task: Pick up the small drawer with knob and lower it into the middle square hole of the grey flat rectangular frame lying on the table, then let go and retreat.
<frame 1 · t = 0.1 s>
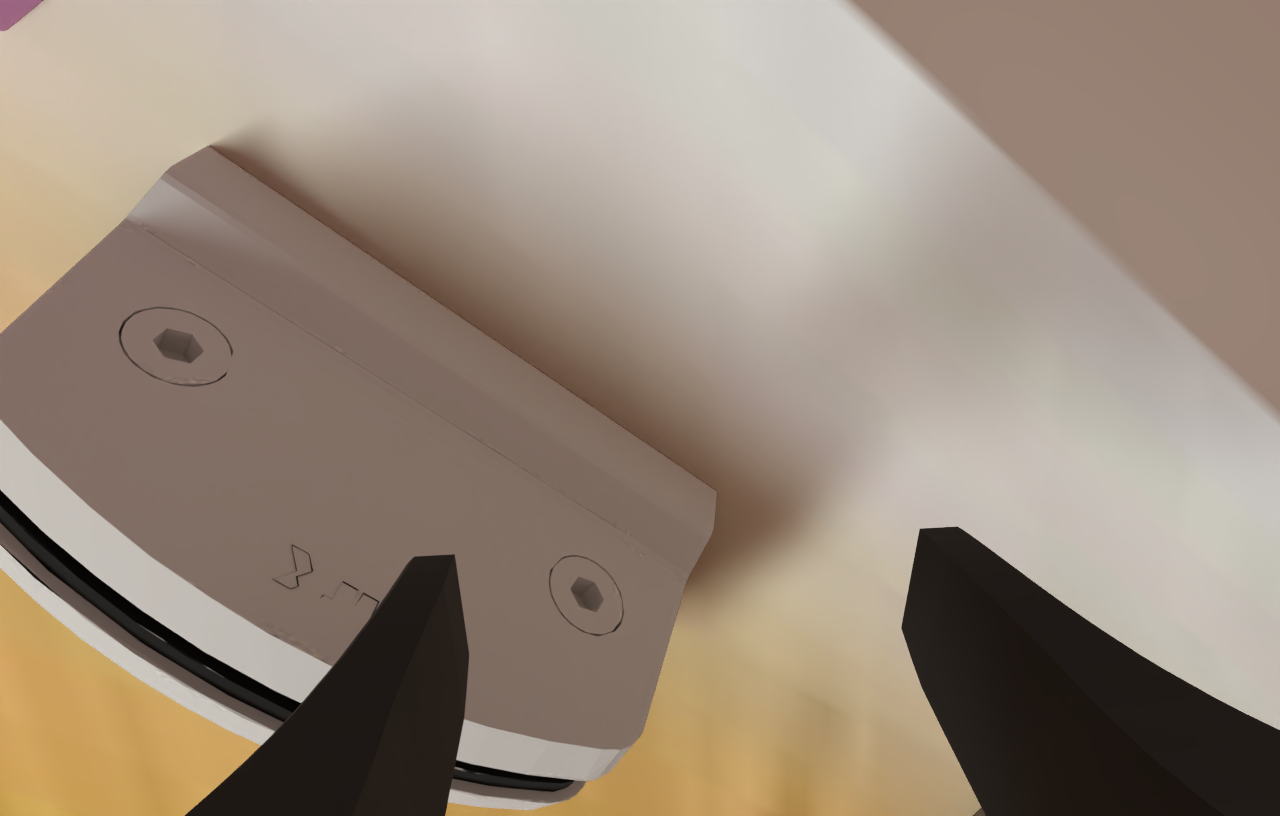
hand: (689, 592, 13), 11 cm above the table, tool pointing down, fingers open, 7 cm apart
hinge: (409, 440, 23), on the table
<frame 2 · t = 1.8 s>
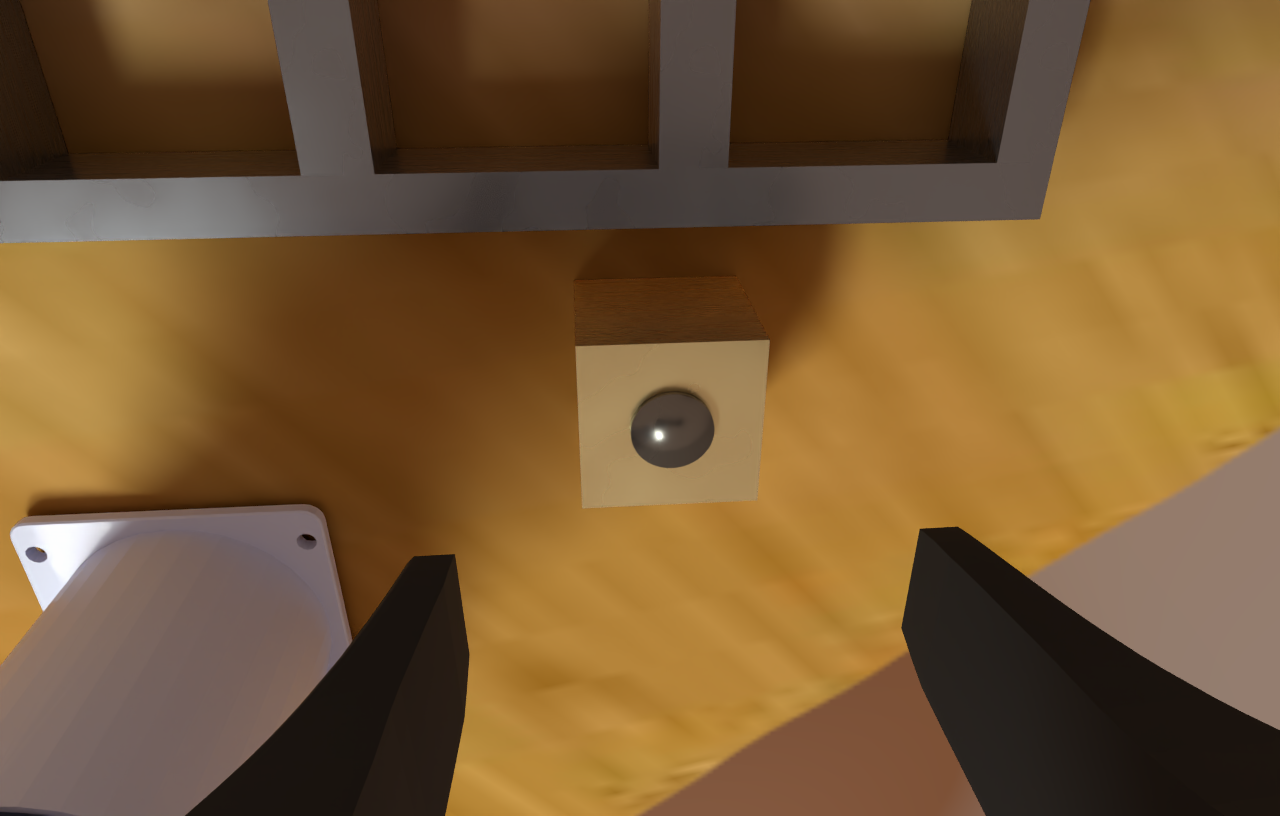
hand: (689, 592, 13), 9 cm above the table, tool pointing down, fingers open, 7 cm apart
drawer with knob: (654, 350, 22), on the table
grey flat rectangular frame: (514, 8, 17), on the table
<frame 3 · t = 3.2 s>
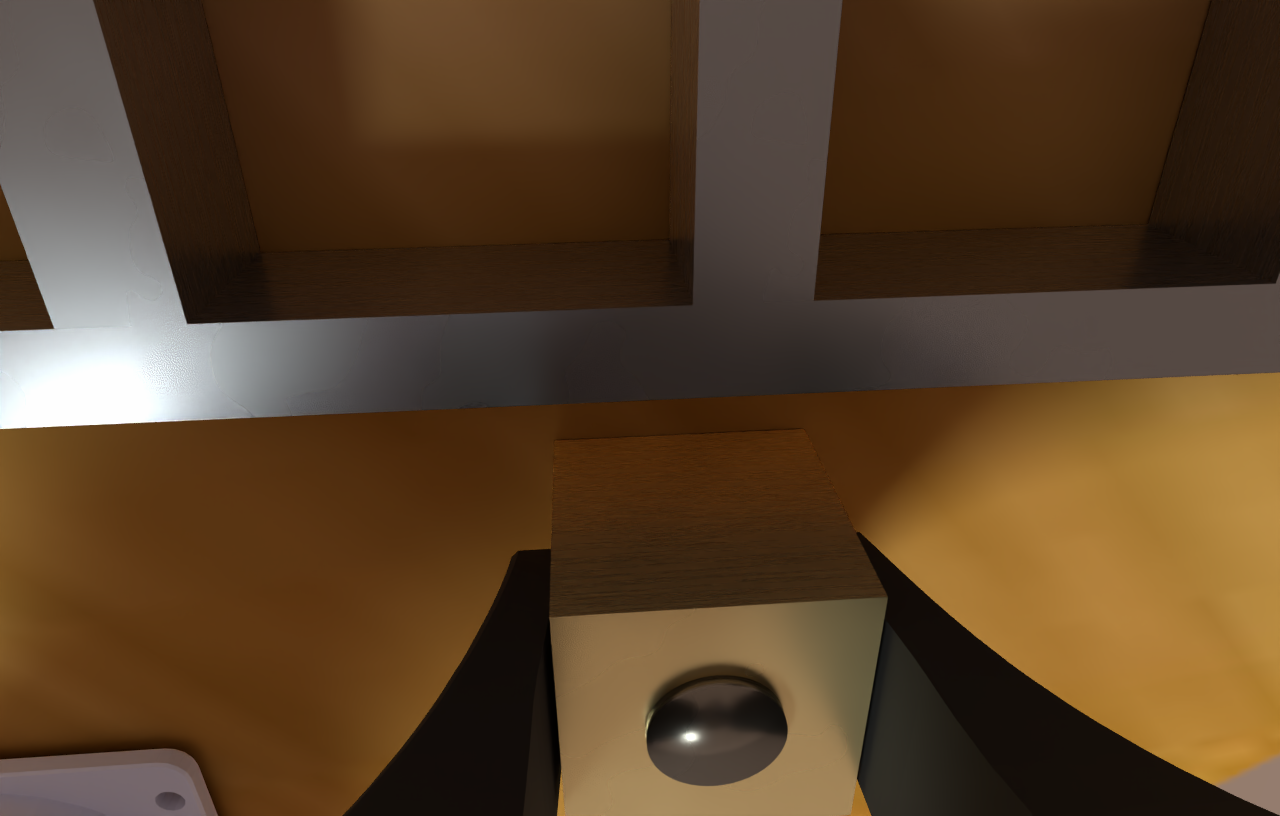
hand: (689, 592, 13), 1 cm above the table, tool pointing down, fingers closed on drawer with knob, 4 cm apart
drawer with knob: (678, 535, 14), on the table, touching gripper
grey flat rectangular frame: (443, 23, 10), on the table
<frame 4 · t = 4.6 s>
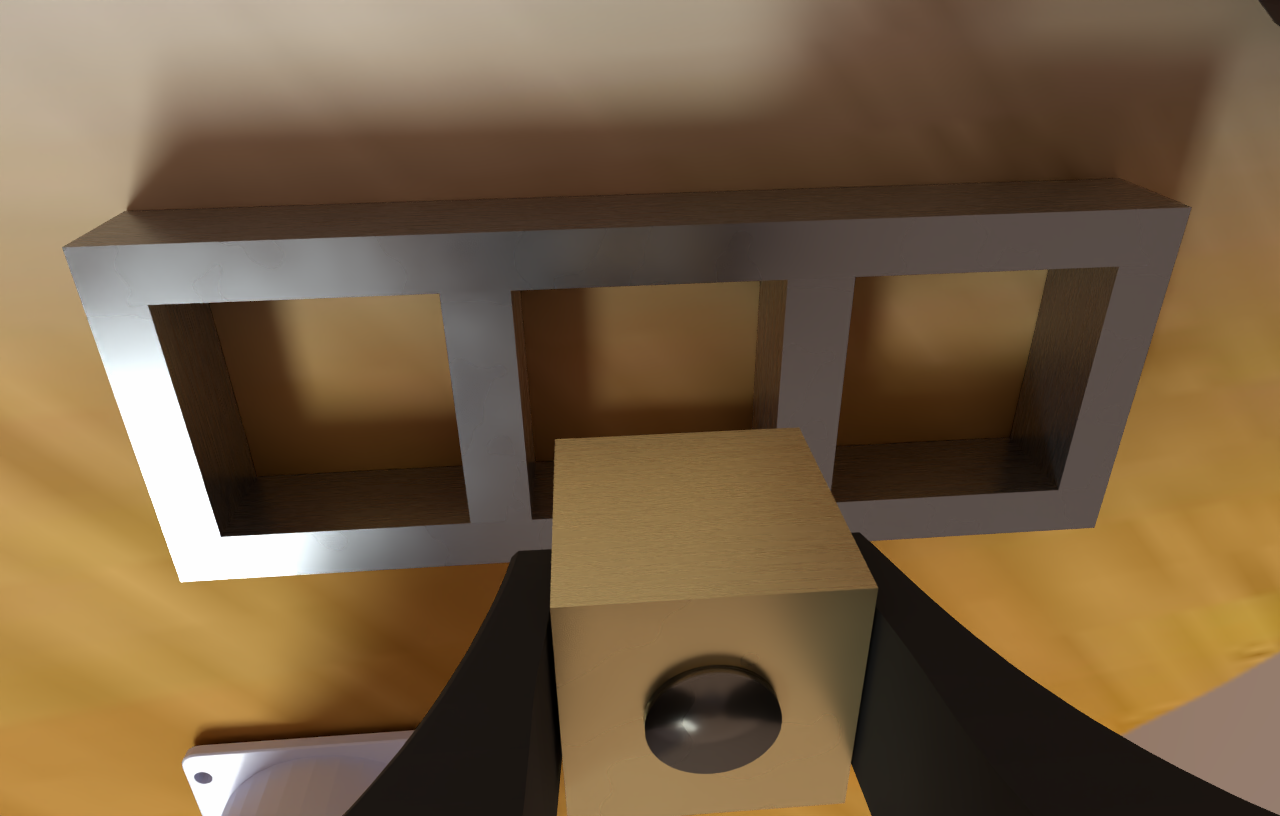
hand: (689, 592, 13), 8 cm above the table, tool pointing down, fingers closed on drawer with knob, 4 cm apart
drawer with knob: (677, 532, 15), point 7 cm above the table, touching gripper
grey flat rectangular frame: (642, 358, 20), on the table
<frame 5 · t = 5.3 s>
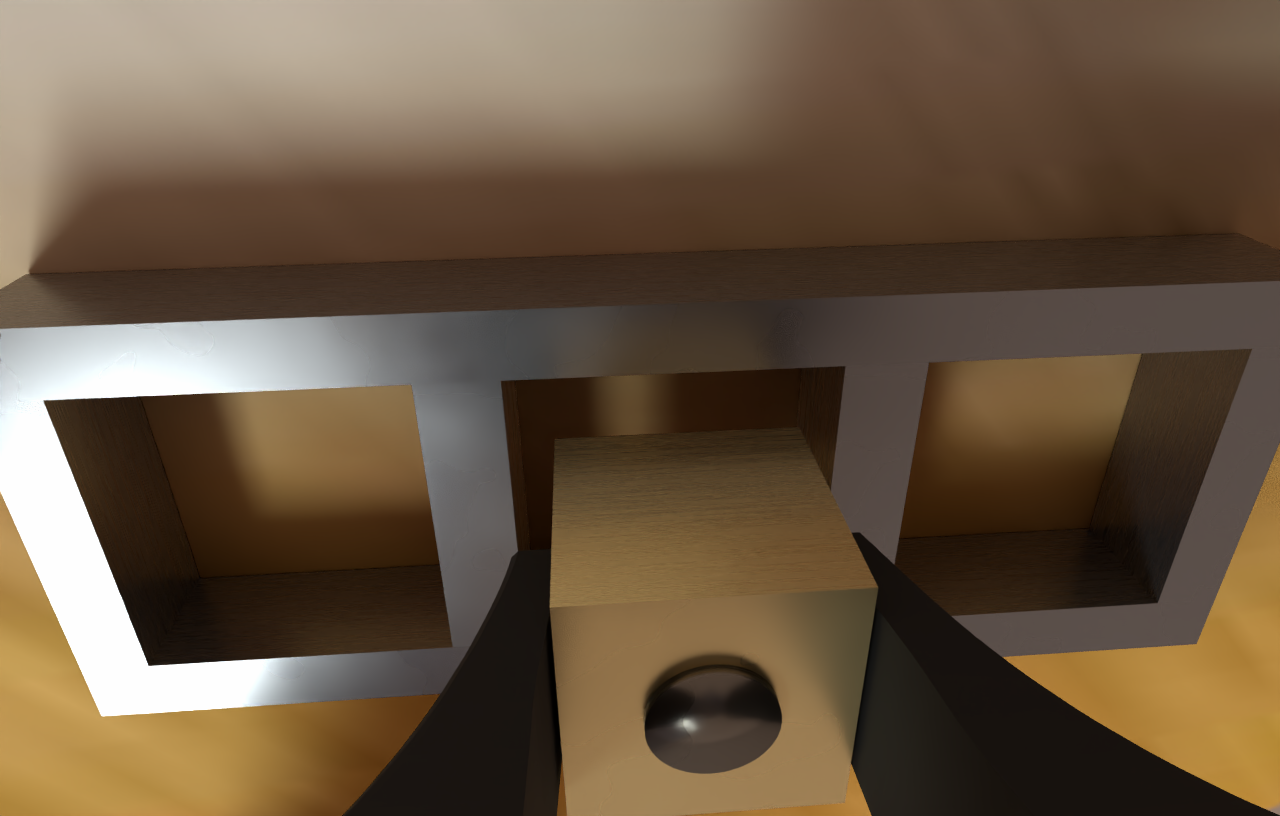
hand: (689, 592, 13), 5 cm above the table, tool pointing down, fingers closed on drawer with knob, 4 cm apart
drawer with knob: (677, 532, 15), point 3 cm above the table, touching gripper
grey flat rectangular frame: (659, 443, 17), on the table
when the fingers open (3 cm above the table, at t = 5.9 s): drawer with knob drops 2 cm, resting in grey flat rectangular frame.
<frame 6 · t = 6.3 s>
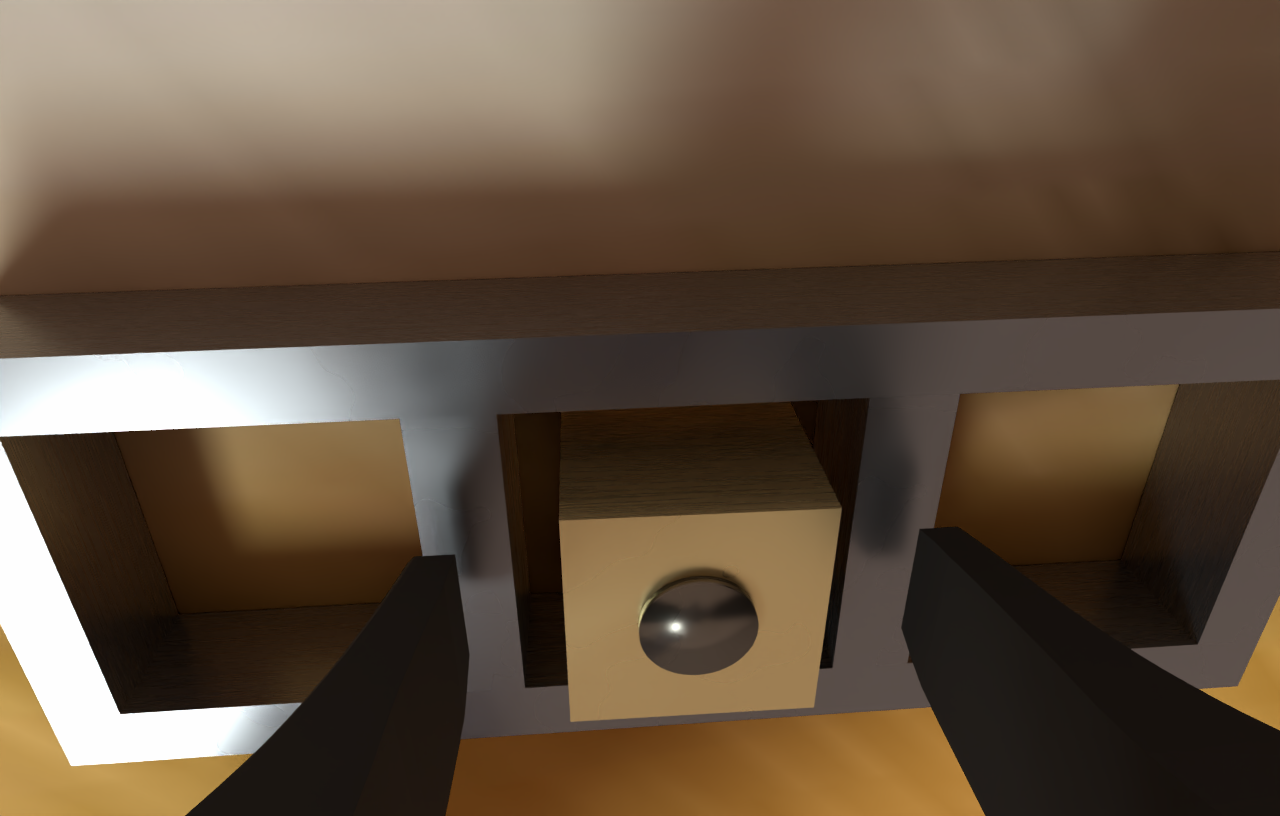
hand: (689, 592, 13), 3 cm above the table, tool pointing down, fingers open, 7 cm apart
drawer with knob: (669, 477, 16), resting in grey flat rectangular frame
grey flat rectangular frame: (667, 472, 16), on the table
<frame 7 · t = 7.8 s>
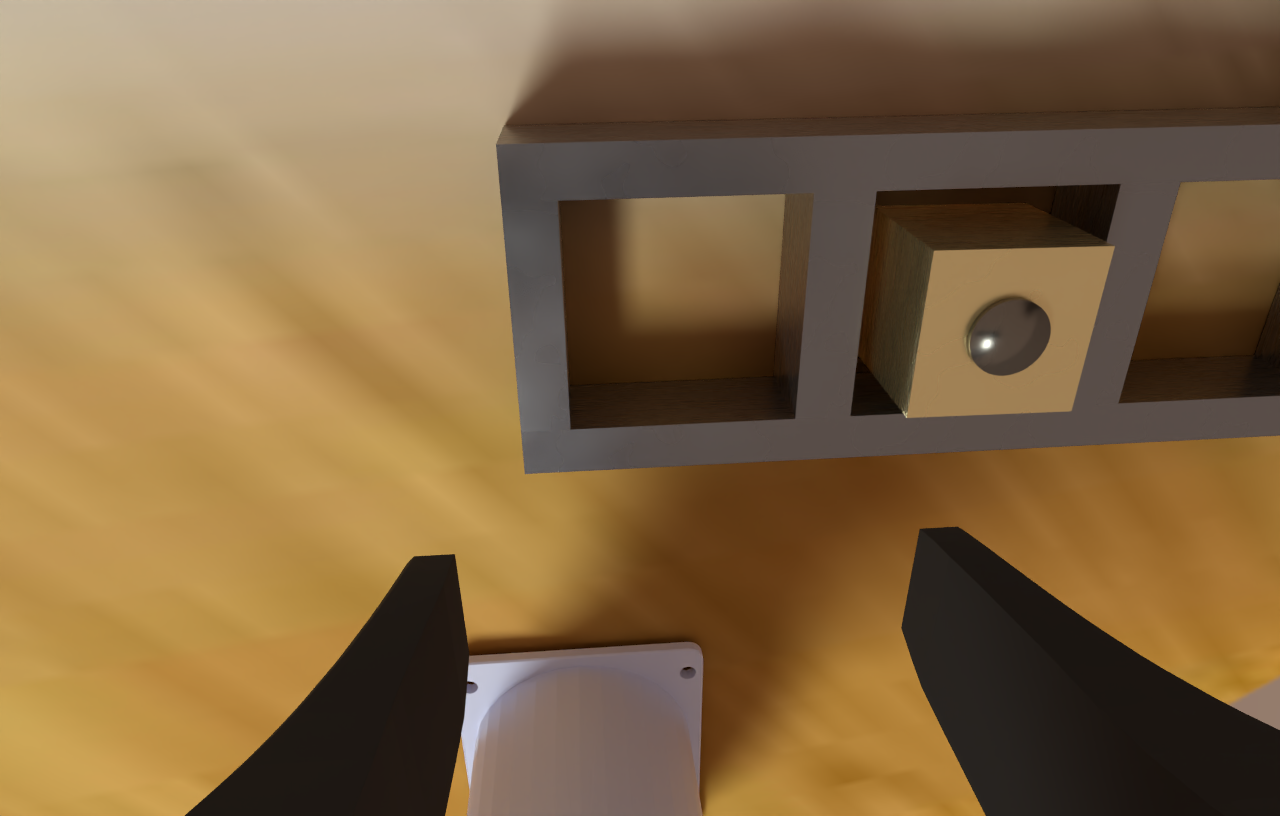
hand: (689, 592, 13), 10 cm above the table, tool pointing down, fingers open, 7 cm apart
drawer with knob: (936, 278, 22), resting in grey flat rectangular frame
grey flat rectangular frame: (936, 273, 22), on the table
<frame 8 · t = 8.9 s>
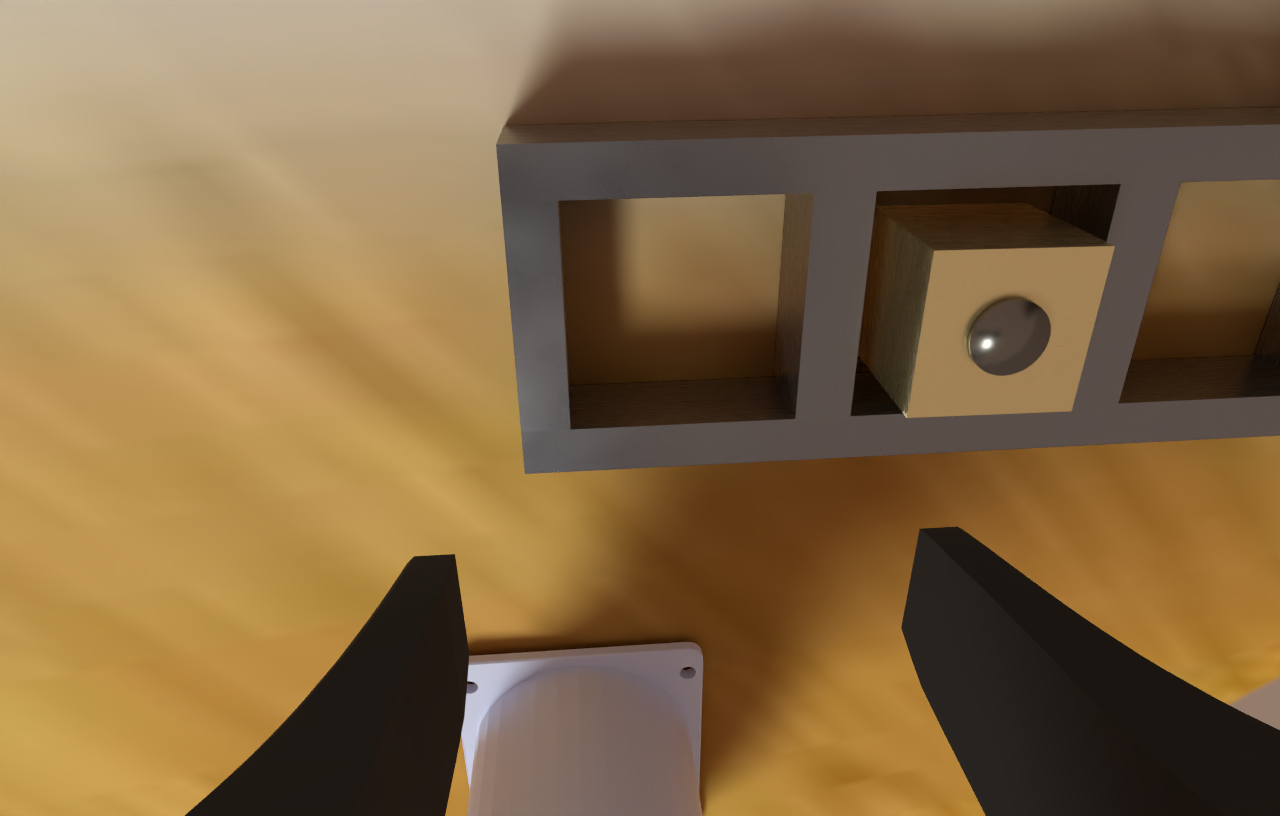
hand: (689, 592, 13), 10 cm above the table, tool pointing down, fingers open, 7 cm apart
drawer with knob: (936, 278, 22), resting in grey flat rectangular frame
grey flat rectangular frame: (936, 273, 22), on the table
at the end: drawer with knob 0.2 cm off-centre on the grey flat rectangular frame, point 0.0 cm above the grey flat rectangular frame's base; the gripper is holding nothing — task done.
